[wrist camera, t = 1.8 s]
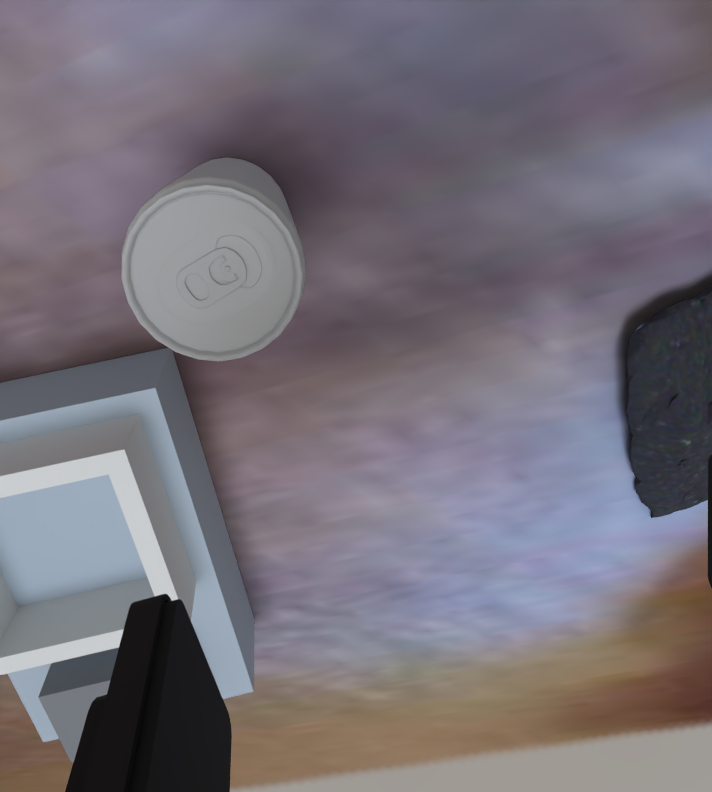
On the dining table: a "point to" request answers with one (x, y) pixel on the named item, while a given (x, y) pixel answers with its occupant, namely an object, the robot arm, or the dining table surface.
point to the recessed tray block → (107, 534)
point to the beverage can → (215, 262)
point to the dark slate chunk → (672, 405)
